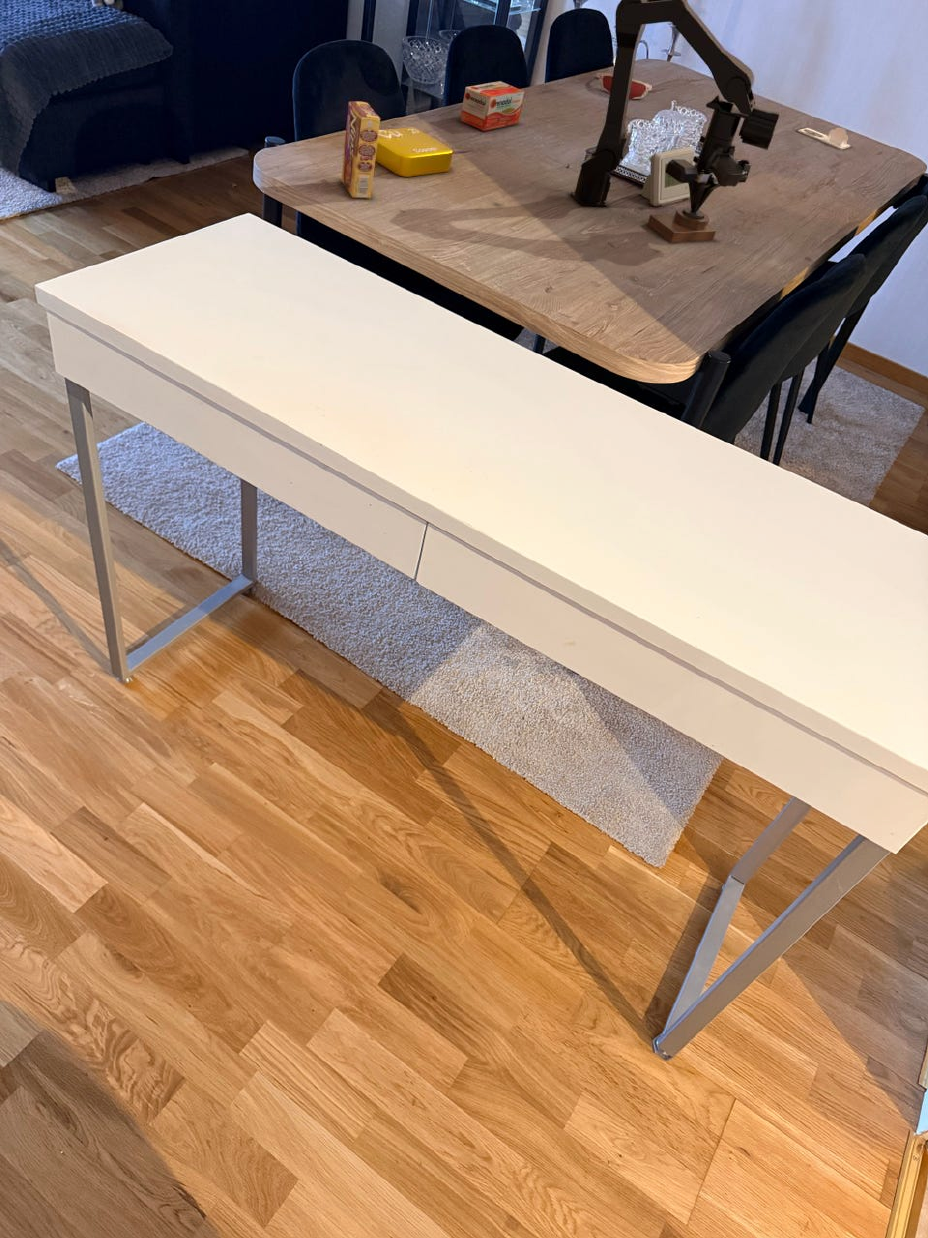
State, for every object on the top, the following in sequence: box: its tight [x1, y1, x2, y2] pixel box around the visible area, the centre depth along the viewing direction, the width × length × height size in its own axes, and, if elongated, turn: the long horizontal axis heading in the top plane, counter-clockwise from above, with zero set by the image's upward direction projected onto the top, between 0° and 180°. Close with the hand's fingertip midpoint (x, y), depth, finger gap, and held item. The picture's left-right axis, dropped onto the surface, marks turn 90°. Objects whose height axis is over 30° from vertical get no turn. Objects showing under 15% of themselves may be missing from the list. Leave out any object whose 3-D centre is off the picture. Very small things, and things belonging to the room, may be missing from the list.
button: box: [683, 206, 704, 219], centre depth 201 cm, size 4×4×2 cm
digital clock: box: [640, 146, 696, 207], centre depth 213 cm, size 16×9×11 cm, turn 123°
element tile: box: [375, 126, 453, 178], centre depth 202 cm, size 15×15×5 cm
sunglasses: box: [595, 72, 653, 100], centre depth 278 cm, size 17×17×5 cm
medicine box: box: [460, 80, 525, 132], centre depth 231 cm, size 15×8×8 cm, turn 142°
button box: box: [647, 206, 717, 243], centre depth 202 cm, size 12×9×4 cm
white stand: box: [797, 127, 851, 150], centre depth 278 cm, size 15×7×4 cm, turn 46°
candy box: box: [341, 101, 381, 200], centre depth 182 cm, size 9×4×15 cm, turn 20°
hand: (693, 211), depth 201 cm, fingers closed, pressing on button
